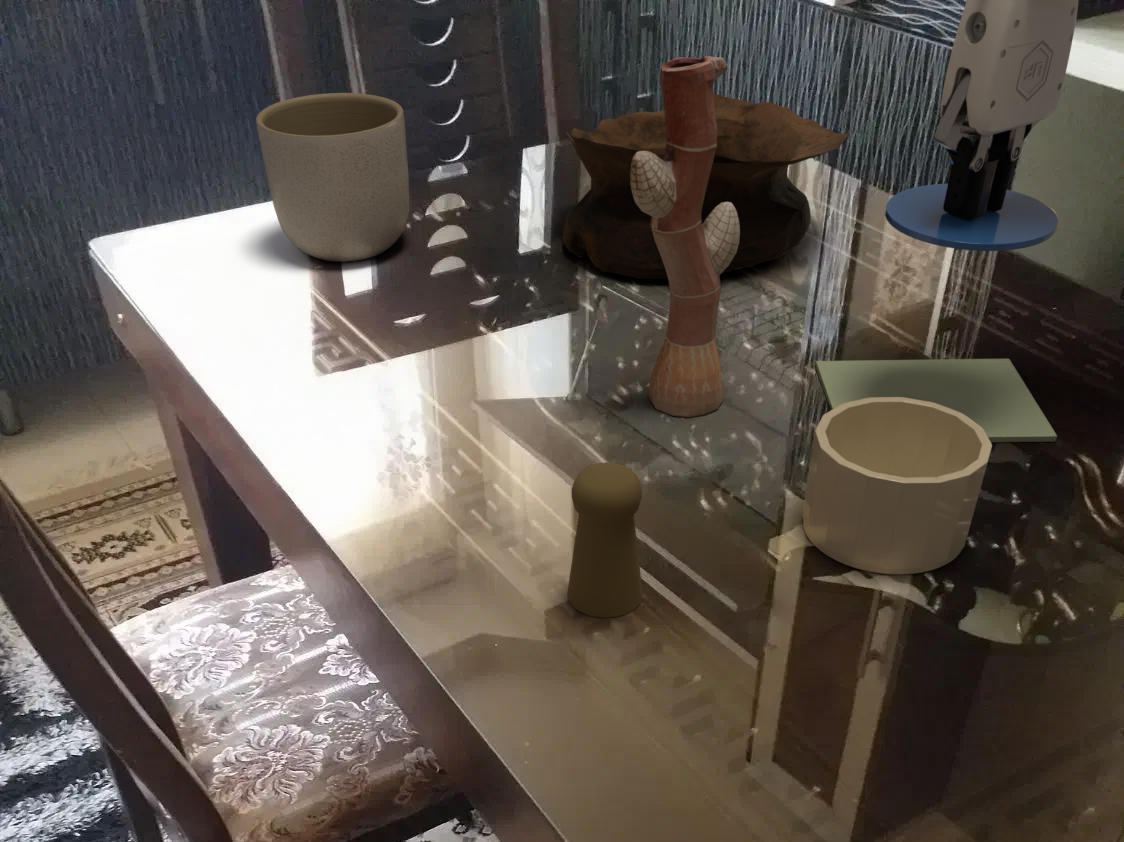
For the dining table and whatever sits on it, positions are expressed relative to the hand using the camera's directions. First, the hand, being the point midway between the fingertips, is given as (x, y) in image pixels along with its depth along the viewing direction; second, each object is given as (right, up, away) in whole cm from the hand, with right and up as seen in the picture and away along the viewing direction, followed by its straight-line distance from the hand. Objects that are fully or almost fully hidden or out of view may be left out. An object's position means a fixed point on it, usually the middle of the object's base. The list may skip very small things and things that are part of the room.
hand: (972, 208), depth 100 cm
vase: (-25, -13, +14) cm, 31 cm away
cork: (-33, -35, -9) cm, 49 cm away
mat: (0, -13, +13) cm, 18 cm away
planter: (-63, +16, +44) cm, 78 cm away
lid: (0, -1, +1) cm, 1 cm away
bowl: (-20, +17, +44) cm, 51 cm away
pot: (-9, -28, -3) cm, 30 cm away
